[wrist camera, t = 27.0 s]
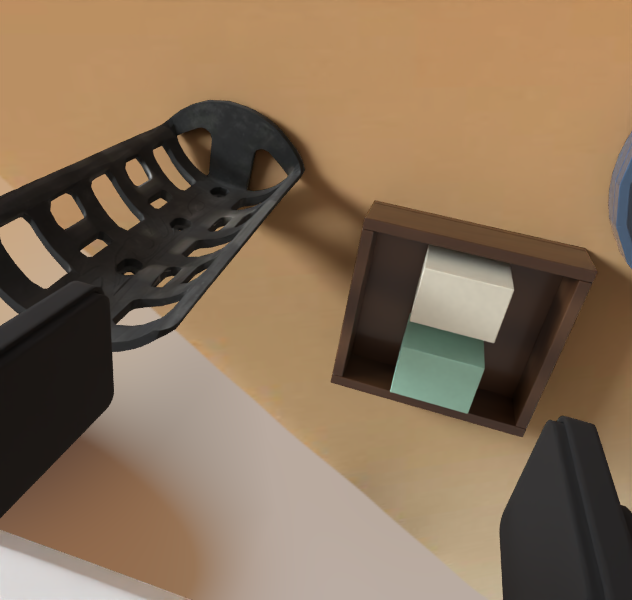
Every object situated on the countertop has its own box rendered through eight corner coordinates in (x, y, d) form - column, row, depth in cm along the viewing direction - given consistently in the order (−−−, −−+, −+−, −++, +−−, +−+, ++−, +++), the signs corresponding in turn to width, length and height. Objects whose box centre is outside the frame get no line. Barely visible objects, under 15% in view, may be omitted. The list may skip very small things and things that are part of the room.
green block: (409, 312, 40) (402, 346, 36) (483, 331, 39) (484, 368, 35) (398, 355, 42) (389, 392, 38) (468, 374, 41) (467, 414, 37)
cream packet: (429, 240, 37) (424, 267, 33) (509, 259, 37) (514, 289, 32) (416, 289, 39) (409, 321, 35) (491, 309, 39) (494, 343, 34)
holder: (315, 116, 36) (165, 243, 20) (304, 217, 40) (173, 388, 24) (168, 87, 38) (-78, 182, 22) (173, 186, 42) (-30, 326, 26)
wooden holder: (374, 200, 38) (364, 217, 34) (585, 248, 36) (598, 271, 32) (341, 354, 44) (330, 382, 41) (518, 403, 42) (522, 437, 39)
